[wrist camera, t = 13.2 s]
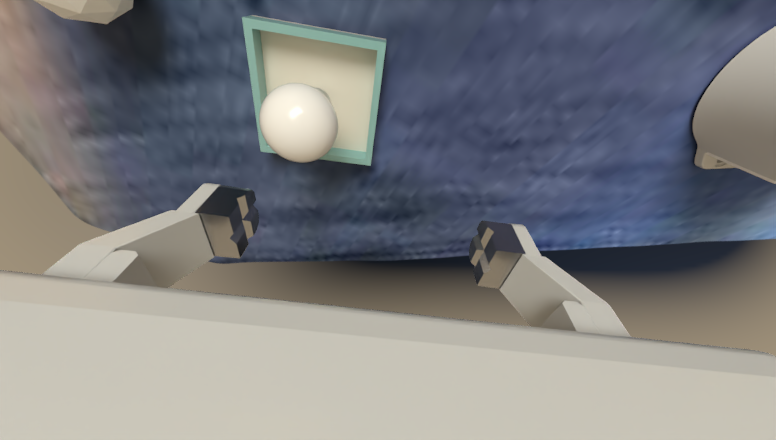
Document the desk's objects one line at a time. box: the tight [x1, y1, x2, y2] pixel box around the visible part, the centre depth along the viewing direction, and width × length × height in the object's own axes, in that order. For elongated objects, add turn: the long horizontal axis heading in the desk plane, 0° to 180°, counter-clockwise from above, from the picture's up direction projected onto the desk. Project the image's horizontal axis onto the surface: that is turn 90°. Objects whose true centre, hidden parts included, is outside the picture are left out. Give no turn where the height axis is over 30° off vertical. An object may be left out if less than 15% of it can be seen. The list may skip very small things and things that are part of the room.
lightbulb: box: [259, 83, 338, 162], centre depth 26 cm, size 6×6×11 cm
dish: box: [242, 15, 386, 166], centre depth 29 cm, size 12×12×3 cm
